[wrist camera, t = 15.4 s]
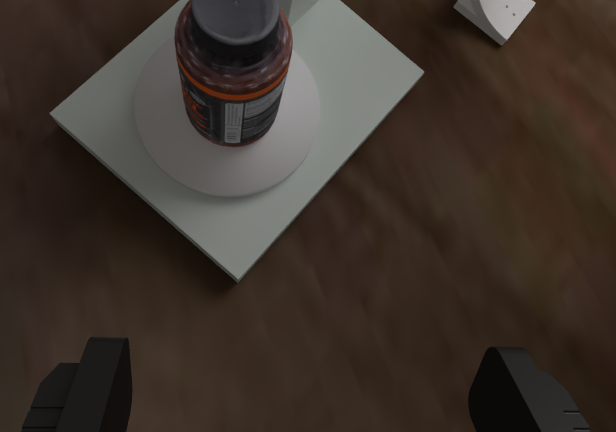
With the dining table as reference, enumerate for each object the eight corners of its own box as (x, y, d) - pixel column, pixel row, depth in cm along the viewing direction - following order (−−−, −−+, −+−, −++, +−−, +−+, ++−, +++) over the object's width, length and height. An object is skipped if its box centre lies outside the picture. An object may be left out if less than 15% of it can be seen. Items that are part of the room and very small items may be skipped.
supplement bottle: (169, 86, 34) (143, -32, 23) (251, 52, 36) (263, -74, 25) (210, 166, 33) (204, 82, 23) (293, 128, 35) (324, 32, 24)
